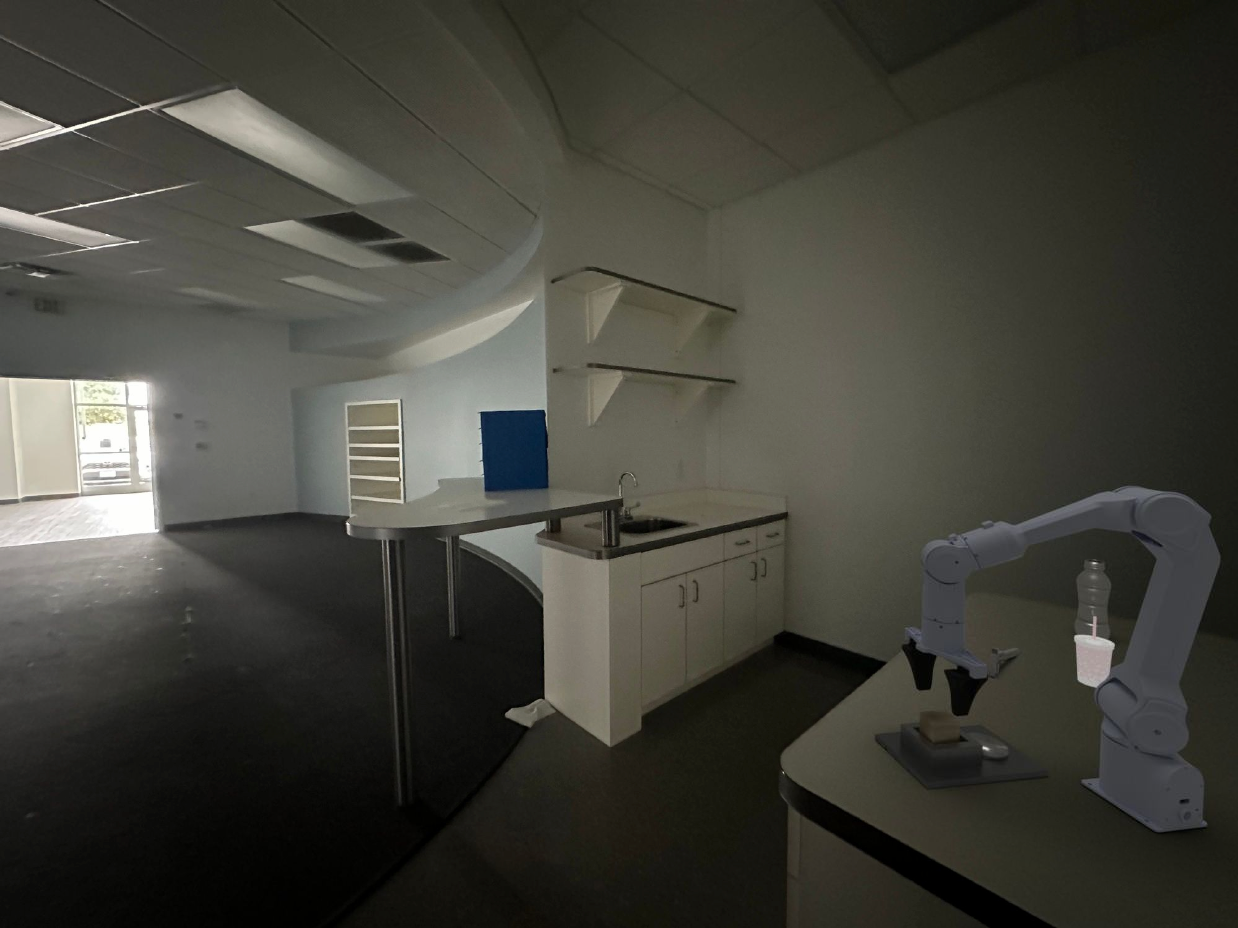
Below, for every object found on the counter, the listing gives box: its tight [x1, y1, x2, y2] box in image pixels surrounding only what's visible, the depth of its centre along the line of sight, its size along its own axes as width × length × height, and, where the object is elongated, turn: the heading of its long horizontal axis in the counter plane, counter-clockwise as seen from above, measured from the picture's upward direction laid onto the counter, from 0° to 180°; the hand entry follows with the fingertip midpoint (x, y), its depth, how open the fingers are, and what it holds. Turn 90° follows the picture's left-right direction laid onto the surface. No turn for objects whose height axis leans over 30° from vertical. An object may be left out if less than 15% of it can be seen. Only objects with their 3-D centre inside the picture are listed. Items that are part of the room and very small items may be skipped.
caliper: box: [988, 646, 1022, 679], centre depth 112 cm, size 20×1×6 cm, turn 129°
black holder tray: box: [874, 721, 1050, 790], centre depth 79 cm, size 12×20×4 cm, turn 97°
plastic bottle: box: [1074, 559, 1112, 640], centre depth 124 cm, size 6×7×20 cm
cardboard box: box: [919, 709, 961, 745], centre depth 79 cm, size 3×4×6 cm, turn 97°
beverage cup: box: [1073, 616, 1115, 689], centre depth 103 cm, size 6×6×14 cm
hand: (941, 701), depth 79 cm, fingers open, 7 cm apart
